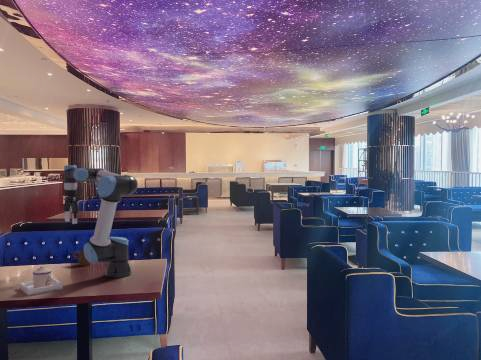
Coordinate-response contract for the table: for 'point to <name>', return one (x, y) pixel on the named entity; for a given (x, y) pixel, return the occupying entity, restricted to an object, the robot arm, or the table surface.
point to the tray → (29, 289)
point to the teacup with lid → (41, 277)
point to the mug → (81, 258)
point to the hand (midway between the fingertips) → (71, 222)
